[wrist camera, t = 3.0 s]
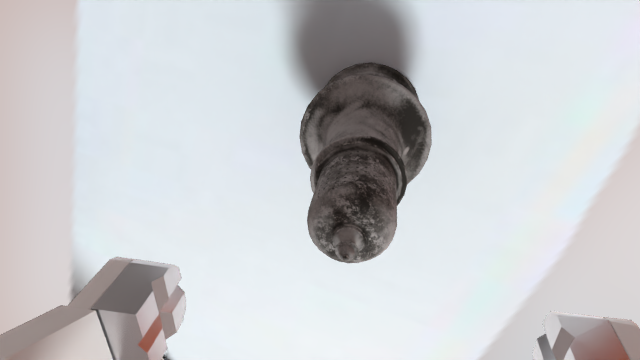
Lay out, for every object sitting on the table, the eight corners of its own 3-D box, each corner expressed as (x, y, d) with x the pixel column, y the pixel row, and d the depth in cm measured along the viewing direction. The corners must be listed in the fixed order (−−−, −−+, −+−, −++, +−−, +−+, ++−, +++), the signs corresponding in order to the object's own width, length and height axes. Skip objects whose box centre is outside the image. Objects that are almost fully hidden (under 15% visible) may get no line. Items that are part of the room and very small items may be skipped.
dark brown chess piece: (293, 129, 23) (210, 276, 13) (349, 33, 20) (303, 119, 10) (384, 183, 24) (376, 363, 13) (450, 97, 21) (506, 240, 11)
